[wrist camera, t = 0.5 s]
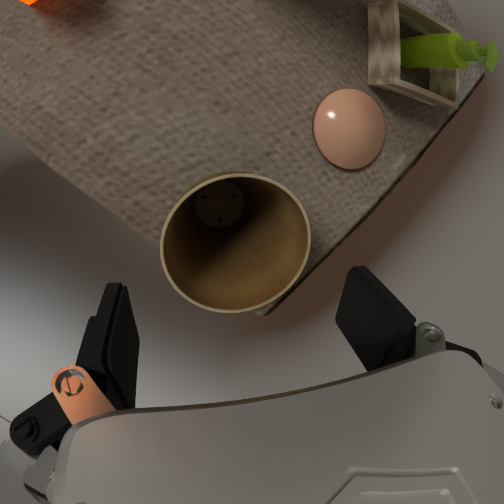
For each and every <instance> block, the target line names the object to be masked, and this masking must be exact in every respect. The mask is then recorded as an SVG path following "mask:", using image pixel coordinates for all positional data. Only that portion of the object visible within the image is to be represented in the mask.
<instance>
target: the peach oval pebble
mask: <svg viewBox="0 0 504 504" xmlns="http://www.w3.org/2000/svg"><path fill="white" fill-rule="evenodd" d="M312 131H313V137H314V141H315V143H316V146H317V148H318V150H319V151H320V153H321V154H322V155H323V156H324V157H325V158H326V159H327V160H328V161H329V162H331V163H333V164H335V165H337V166H339V167H342V168H346V169H357V168H361V167H363V166H365V165H367V164H369V163H370V162H371V161H373V160H374V159H375V157H376V156H377V155H378V153H379V152H380V150H381V148H382V146H383V142H384V138H385V122H384V118H383V114H382V112H381V110H380V108H379V106H378V105H377V103H376V102H375V101H374V100H373V99H372V98H371V97H370V96H369V95H367V94H366V93H364V92H362V91H359V90H356V89H340V90H336V91H333V92H331V93H329V94H328V95H327V96H325V97H324V98H323V99H322V100H321V102H320V103H319V104H318V106H317V108H316V110H315V113H314V116H313V122H312Z"/></svg>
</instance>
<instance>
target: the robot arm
mask: <svg viewBox="0 0 504 504" xmlns="http://www.w3.org/2000/svg"><path fill="white" fill-rule="evenodd" d="M335 318H336V324H337V325H338V327H339V328H340V330H341V331H342V333H343V334H344V336H345V337H346V339H347V341H348V342H349V344H350V345H351V347H352V348H353V350H354V351H355V353H356V354H357V356H358V358H359V359H360V361H361V362H362V364H363V365H364V367H365V368H366V370H367V372H366V373H363V374H359V375H356V376H352V377H349V378H345V379H341V380H337V381H333V382H329V383H325V384H321V385H317V386H313V387H308V388H304V389H299V390H294V391H289V392H284V393H279V394H273V395H268V396H262V397H255V398H248V399H242V400H235V401H226V402H217V403H207V404H196V405H184V406H168V407H149V408H135V397H136V379H137V367H138V354H139V345H140V344H139V343H140V342H139V335H138V331H137V327H136V324H135V320H134V315H133V311H132V307H131V303H130V299H129V294H128V290H127V287H126V286H122V284H121V283H108V284H107V285H106V288H105V290H104V294H103V296H102V299H101V303H100V305H99V308H98V311H97V315H96V316H91V317H90V319H89V321H88V324H87V327H86V331H85V333H84V336H83V340H82V343H81V347H80V350H79V354H78V357H77V361H76V365H75V366H67V367H64V368H62V369H61V370H59V371H58V372H57V373H56V374H55V375H54V377H53V379H52V384H51V385H52V386H51V387H52V390H53V392H52V393H50V394H49V395H47V396H46V397H44V398H43V399H42V400H40V401H38V402H37V403H35V404H34V405H33V406H31V407H30V408H28V409H27V410H25V411H24V412H22V413H21V414H19V415H18V416H17V417H16V418H15V419H14V420H13V421H12V423H11V425H10V437H11V438H10V439H9V440H8V442H7V441H6V440H4V441H3V442H2V444H1V445H0V504H51V503H50V502H49V501H48V499H47V497H46V487H47V485H48V483H49V482H50V480H51V479H50V478H49V476H50V475H51V473H52V472H53V471H55V473H54V485H53V504H504V374H502V373H501V372H499V371H497V370H496V369H494V368H492V367H491V366H489V365H487V364H485V363H484V364H483V365H482V361H481V358H480V357H479V356H478V354H477V352H475V351H474V350H471V349H468V348H465V347H462V346H459V345H456V344H453V343H450V342H447V341H445V336H444V333H443V332H442V330H441V329H440V328H439V327H438V326H436V325H435V324H432V323H429V322H422V323H420V324H418V325H417V327H416V326H415V325H414V324H415V322H416V318H415V317H414V316H413V315H412V314H411V313H410V312H409V311H408V309H407V308H406V307H405V306H404V305H403V304H402V303H401V302H400V301H399V300H398V299H397V298H396V297H395V296H394V295H393V294H392V293H391V292H390V291H389V290H388V289H387V288H386V287H385V285H384V284H383V283H382V282H380V280H378V279H377V277H376V276H375V275H374V274H373V273H372V272H370V270H368V268H367V267H365V266H354V267H352V268H351V270H349V271H348V273H347V277H346V281H345V285H344V288H343V292H342V296H341V299H340V303H339V306H338V310H337V314H336V317H335Z"/></svg>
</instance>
